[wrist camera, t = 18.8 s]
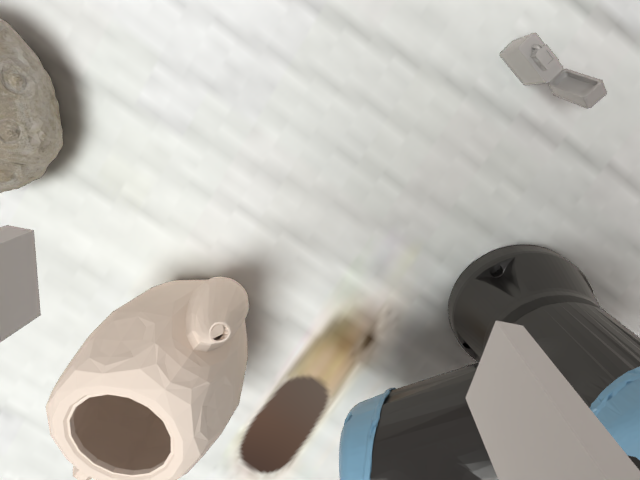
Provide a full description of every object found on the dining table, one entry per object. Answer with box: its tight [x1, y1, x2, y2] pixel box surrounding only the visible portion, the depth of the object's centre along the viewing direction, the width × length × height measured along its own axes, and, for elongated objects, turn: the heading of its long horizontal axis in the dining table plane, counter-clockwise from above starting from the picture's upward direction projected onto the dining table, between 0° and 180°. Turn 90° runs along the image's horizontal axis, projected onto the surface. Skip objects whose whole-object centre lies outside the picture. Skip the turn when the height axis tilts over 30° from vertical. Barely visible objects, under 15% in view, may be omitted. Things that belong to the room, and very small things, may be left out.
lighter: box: [500, 33, 607, 109], centre depth 33 cm, size 7×2×8 cm, turn 47°
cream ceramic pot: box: [46, 277, 249, 480], centre depth 39 cm, size 16×27×19 cm, turn 139°
